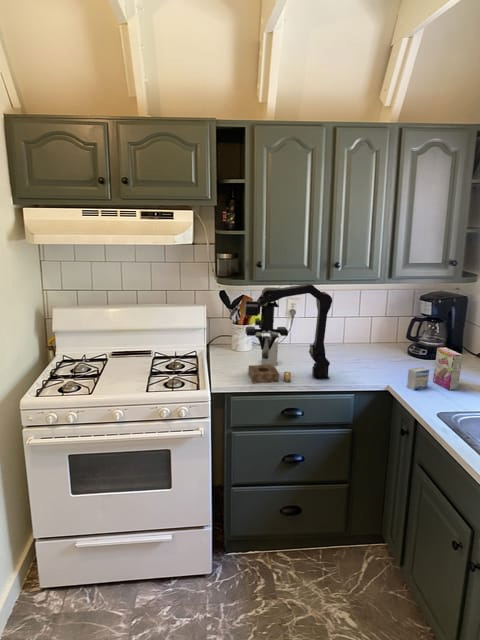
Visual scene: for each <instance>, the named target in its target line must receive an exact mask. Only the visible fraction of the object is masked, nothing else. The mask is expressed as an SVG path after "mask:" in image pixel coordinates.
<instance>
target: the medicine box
mask: <svg viewBox="0 0 480 640" xmlns="http://www.w3.org/2000/svg"><path fill="white" fill-rule="evenodd" d="M429 375H430V370H429V369H428V368H425V367H423V366H422V367H415V368H409V369H408V373H407V382H406V388H408V387H409V388H408V389H410V388H411V390H412V389H413V390H412V391H416V390H415V389H419V390H422V389H421V388H424V389H427V388H428V385H429Z"/></svg>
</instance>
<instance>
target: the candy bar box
mask: <svg viewBox="0 0 480 640" xmlns="http://www.w3.org/2000/svg"><path fill="white" fill-rule="evenodd" d="M435 353H436V355H435V361H434V364H435V365H434V369H433V370H434V371H433V378H432V382H433V383H435V384H437V385H438V386H440V385H441V387H442V386H443V387H442V388H444V387H445V388H444V389H446V388H447V389H446V390H448V389H449V390H448V391H452V390H451V389H457V390H459V383H460V377H461V369H462V364H463V363H462V362H463V356H464V355H463V354H461V353H459V352H458V351H454V350H452V349H450V348H448V347H443V346H442V347H437V348H436V352H435Z"/></svg>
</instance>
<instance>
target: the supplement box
mask: <svg viewBox="0 0 480 640" xmlns="http://www.w3.org/2000/svg"><path fill="white" fill-rule="evenodd" d="M278 346H279V338H276V340H275V341H274V343H273V345H272V347H271V349H270V350H269V358H268V359H263V358H262V357H261V362H260V363H261V364H260V365H274V366H275V367H276V365H277V362H278V353H279V351H278V350H279V349H278V348H279V347H278Z"/></svg>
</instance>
